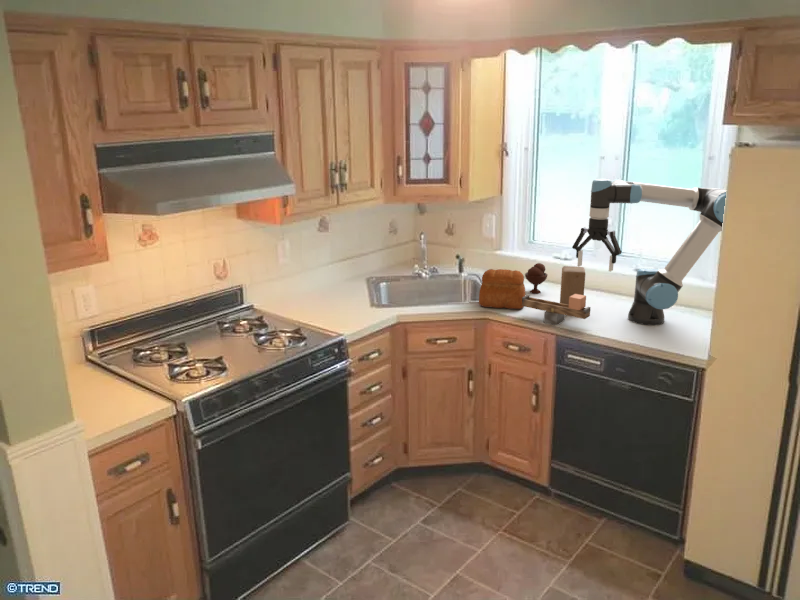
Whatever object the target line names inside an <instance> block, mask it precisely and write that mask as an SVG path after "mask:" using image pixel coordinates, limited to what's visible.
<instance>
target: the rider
mask: <svg viewBox="0 0 800 600" xmlns="http://www.w3.org/2000/svg"><path fill="white" fill-rule="evenodd" d="M586 301H587V295H579V294H574V295H572V296H570V297H569V308H570V309H575V310H582V309H583V308H586V304H587V302H586Z"/></svg>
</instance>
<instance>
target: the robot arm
mask: <svg viewBox="0 0 800 600" xmlns="http://www.w3.org/2000/svg"><path fill="white" fill-rule="evenodd" d="M726 191H727V189H726V190H725V189H723V188H717V187H716V188H715V187H697V186H695V187H693V188H687V187H686V188H684V187H677V186H667V185H660V184H652V183H646V182H645V183H643V182H637V181H629V180H628V181H627V180H622V179H619V178H618V179H616V178H615V179H613V180H611V179H610V178H609V179H608V178H596V179H593V180H592V182H591V190H590V204H589V205H590V207H589V220H588V228H587V227H586V226H584V227H581V228H580V233H579V234H578V236H577V238H576V240H575V242H574V243H573V245H572V249H573V250H575V252H576V254H575V258H576V259H577V265H576V267H583V266H582V265H583V255H584V253H583V252H584V250H582V249H583V248H584V247H585V246H587V244H588V243H589V242H590V241H591V240H592V241H599V242H602V243H603V244H604V245H605V247H606V248H607V250H608V251H609V253H610V254H611V255H609V262H608V263H609V265H608V272H612V271H614V264H616V262H617V256H619V255H621V254H622V250H621V247H620V245H619V242H618V240H617V237H616V231H615V230H609V229H608V227H609V216H610V214H609V213H610V204H638V203H640V202H644V203H651V204H658V205H660V204H661V205H669V206H675V207H684V208H688V209H689V210H690V211H696V212H700V213H699V221H698V222H697V224H696V225H695V227H694V228H693V229H692V231H690V234H688V236H687V237H686V239H685V240H684V242H683V243H682V244H681V245H680V246H679V248H678V250H676V252H675V254H674V255H673V256H672V257H671V259H670V260H669V262H668V263H667V264H666V265H665V267H664V268H662V269H661V268H660V269H659V268H640V269H638V270H636V276H635V287H634V297H633V302H632V305H631V307H630V308H629V311H628V314H627V315H628V316H627V319H628V320H629V321H630V322H633V323H636V324H640V325H646V326H658V325H661V324H663V323H664V322H665V312H664V310H668V309H669V308H672V307H673V306H674V305H675V304H676V303H677V301H678V299H679V291H680V290H681V289H682V287H683V280H684V279H685V277H686V276H687V275H688V273H689V272H690V270H691V269H692V268H693V267H694V266H695V264H696V263H697V261H699V259H700V258H701V256H702V255H703V254H704V253H705V251H706V250H707V248H708V247H709V246H710V244H711V243H712V242H713V240H714V239H715V238H716V236H717V235H718V234H719V233H720V232H723V231H722V223H723V214H724V206H725V198H726ZM586 233H587V234H588V236H587V237H586V238H585V239H584V241H582V240H583V238H584V237H585V235H586ZM608 237H609V238H610V241H611V242H610V241H609V238H608ZM581 241H582V242H581ZM611 243H612V244H611Z"/></svg>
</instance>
